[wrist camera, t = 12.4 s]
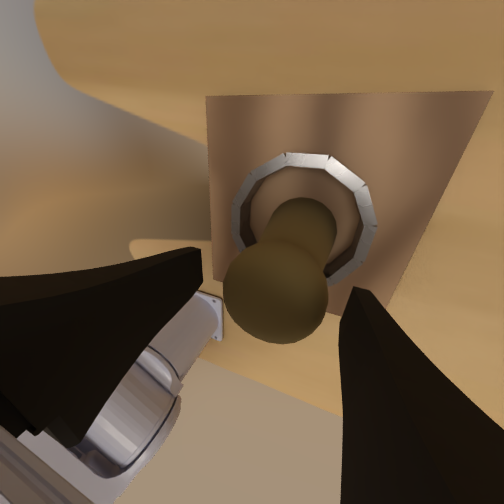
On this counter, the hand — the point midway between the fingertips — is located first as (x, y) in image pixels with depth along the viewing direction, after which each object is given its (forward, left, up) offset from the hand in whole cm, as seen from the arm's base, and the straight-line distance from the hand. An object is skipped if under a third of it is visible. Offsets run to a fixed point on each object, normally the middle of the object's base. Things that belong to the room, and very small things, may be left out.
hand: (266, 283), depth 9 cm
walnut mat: (0, 0, -10) cm, 10 cm away
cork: (0, -1, -10) cm, 10 cm away
